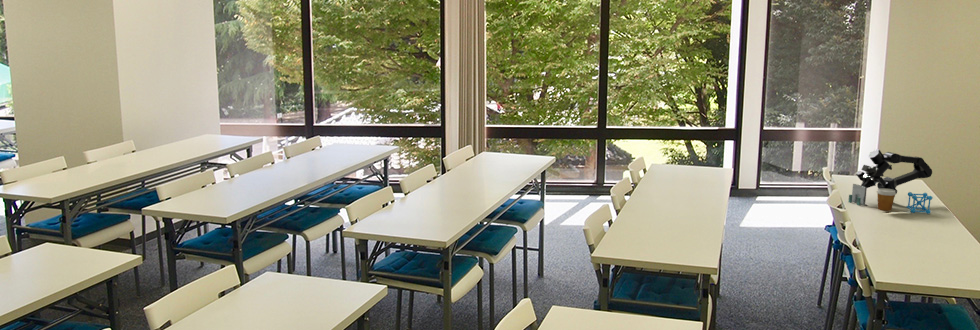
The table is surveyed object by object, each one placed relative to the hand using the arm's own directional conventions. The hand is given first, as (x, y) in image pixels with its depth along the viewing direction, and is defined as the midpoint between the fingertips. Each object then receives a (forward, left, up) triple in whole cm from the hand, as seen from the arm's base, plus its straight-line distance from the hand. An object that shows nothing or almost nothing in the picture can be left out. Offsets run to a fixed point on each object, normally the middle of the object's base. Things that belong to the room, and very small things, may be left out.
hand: (860, 189), depth 438 cm
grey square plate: (0, +1, -8) cm, 8 cm away
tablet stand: (-1, -1, -9) cm, 9 cm away
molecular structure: (-28, -9, -10) cm, 31 cm away
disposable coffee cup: (-15, +4, -9) cm, 18 cm away
